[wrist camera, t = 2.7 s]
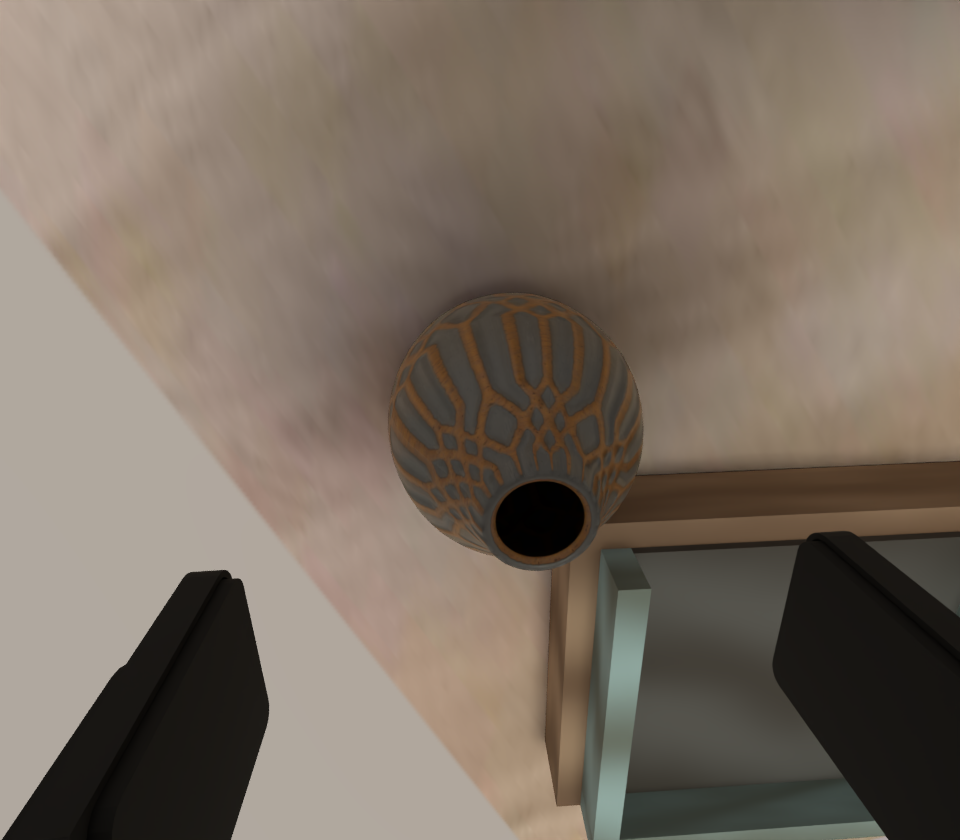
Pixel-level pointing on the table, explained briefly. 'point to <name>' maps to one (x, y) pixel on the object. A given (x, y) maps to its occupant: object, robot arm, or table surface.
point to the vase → (516, 428)
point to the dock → (718, 648)
